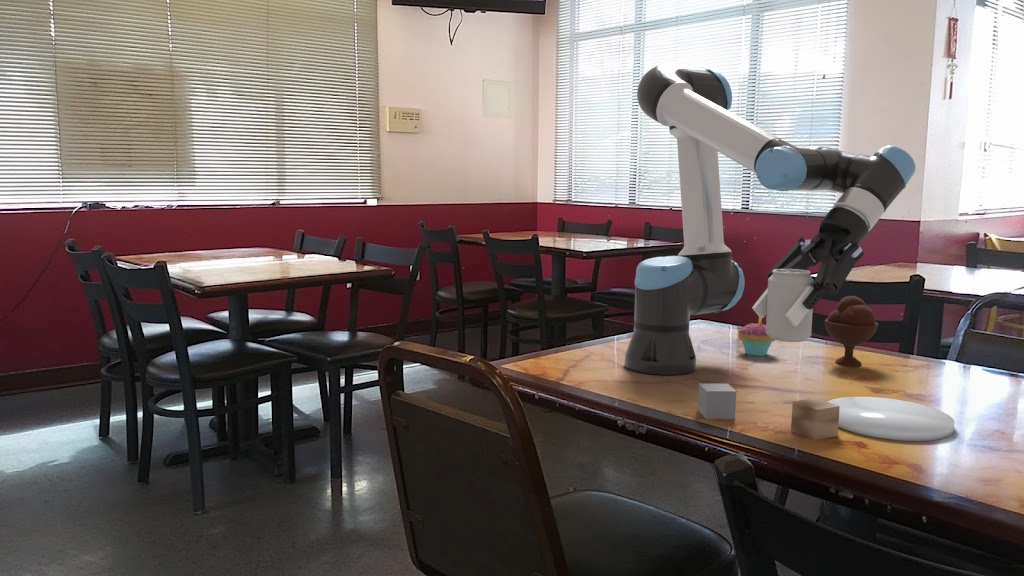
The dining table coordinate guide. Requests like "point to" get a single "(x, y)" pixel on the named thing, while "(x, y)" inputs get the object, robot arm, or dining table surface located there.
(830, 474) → the dining table surface
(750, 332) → the cupcake
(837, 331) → the ice cream bowl
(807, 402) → the wooden cube
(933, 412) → the plate
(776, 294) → the can
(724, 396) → the gray block
